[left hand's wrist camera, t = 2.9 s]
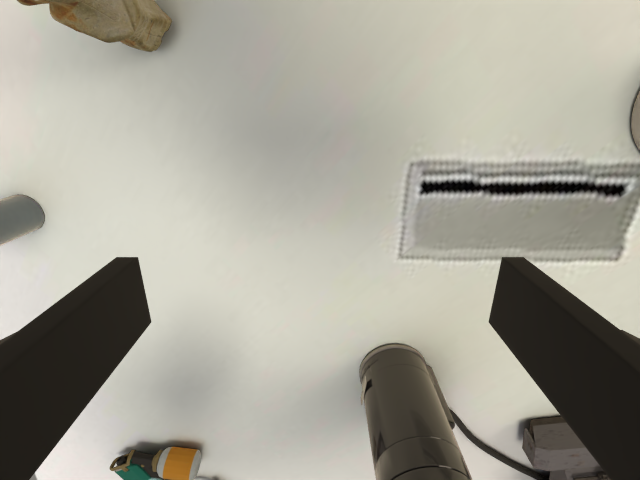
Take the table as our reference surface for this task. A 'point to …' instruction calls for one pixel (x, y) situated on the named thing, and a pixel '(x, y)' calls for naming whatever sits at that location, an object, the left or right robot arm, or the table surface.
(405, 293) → the table surface
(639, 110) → the bust sculpture
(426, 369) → the right robot arm
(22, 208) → the bottle
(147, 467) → the spray gun
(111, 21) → the sculpture
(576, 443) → the toy
